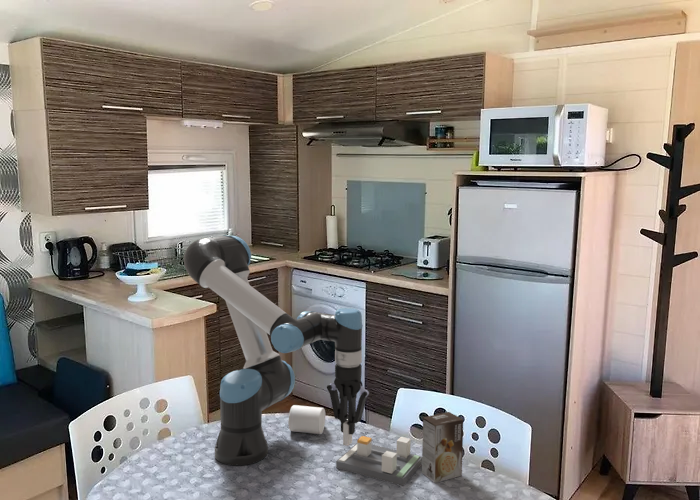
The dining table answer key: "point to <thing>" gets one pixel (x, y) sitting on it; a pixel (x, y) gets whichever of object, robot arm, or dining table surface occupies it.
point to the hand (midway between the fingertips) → (347, 443)
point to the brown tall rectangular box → (442, 446)
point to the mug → (306, 419)
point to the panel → (379, 465)
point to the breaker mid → (364, 446)
